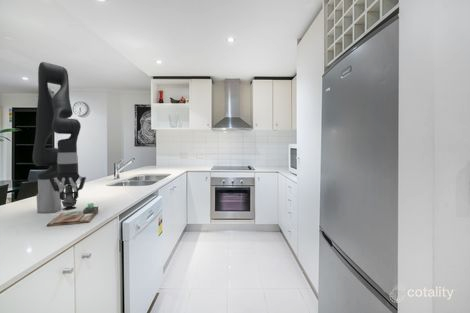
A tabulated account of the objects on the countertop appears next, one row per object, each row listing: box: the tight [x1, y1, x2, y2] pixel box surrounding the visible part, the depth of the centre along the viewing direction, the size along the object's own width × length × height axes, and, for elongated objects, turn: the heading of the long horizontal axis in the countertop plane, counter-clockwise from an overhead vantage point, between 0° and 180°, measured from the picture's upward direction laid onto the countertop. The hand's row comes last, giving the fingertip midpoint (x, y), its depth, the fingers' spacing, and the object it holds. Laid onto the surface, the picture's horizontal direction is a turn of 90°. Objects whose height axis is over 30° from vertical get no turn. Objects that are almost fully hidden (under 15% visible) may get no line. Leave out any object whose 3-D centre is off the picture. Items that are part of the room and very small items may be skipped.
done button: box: [87, 203, 95, 209], centre depth 117 cm, size 3×3×3 cm
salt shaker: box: [61, 184, 78, 211], centre depth 106 cm, size 6×6×12 cm
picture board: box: [46, 206, 99, 227], centre depth 111 cm, size 16×18×3 cm
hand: (69, 199), depth 106 cm, fingers closed on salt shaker, 4 cm apart
